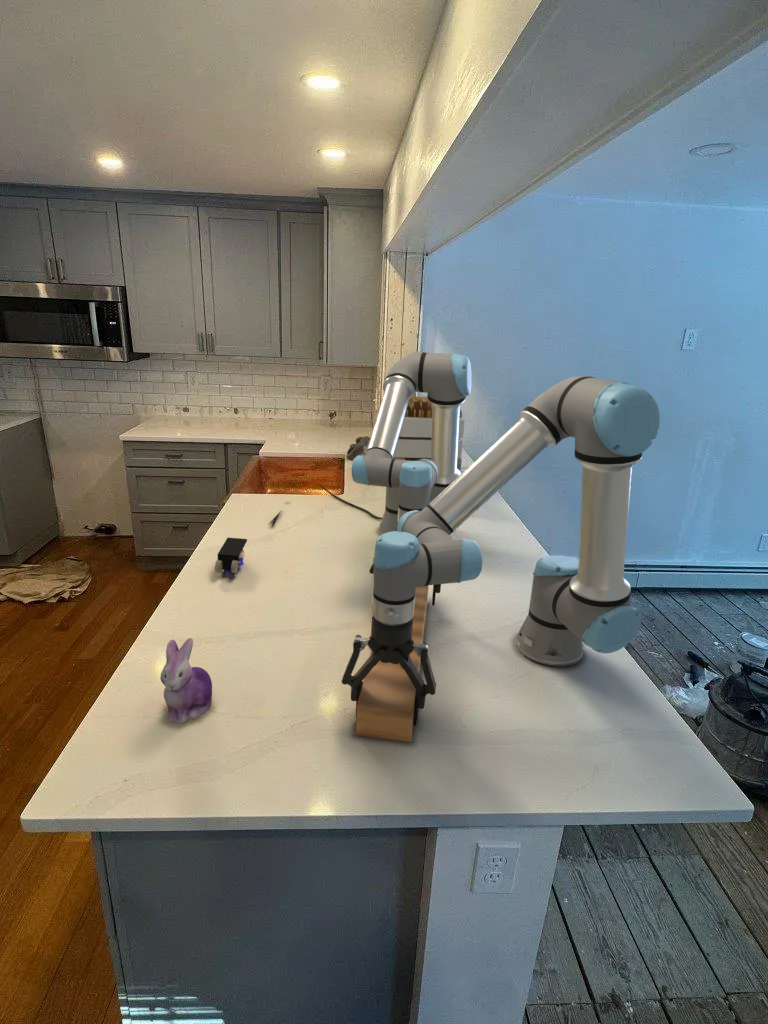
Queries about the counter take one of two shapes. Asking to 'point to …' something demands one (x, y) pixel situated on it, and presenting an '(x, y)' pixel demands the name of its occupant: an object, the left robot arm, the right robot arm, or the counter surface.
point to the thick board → (392, 689)
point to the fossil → (358, 447)
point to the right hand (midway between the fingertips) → (386, 717)
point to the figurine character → (230, 556)
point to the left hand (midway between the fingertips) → (407, 600)
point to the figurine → (184, 684)
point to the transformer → (421, 432)
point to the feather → (274, 519)
